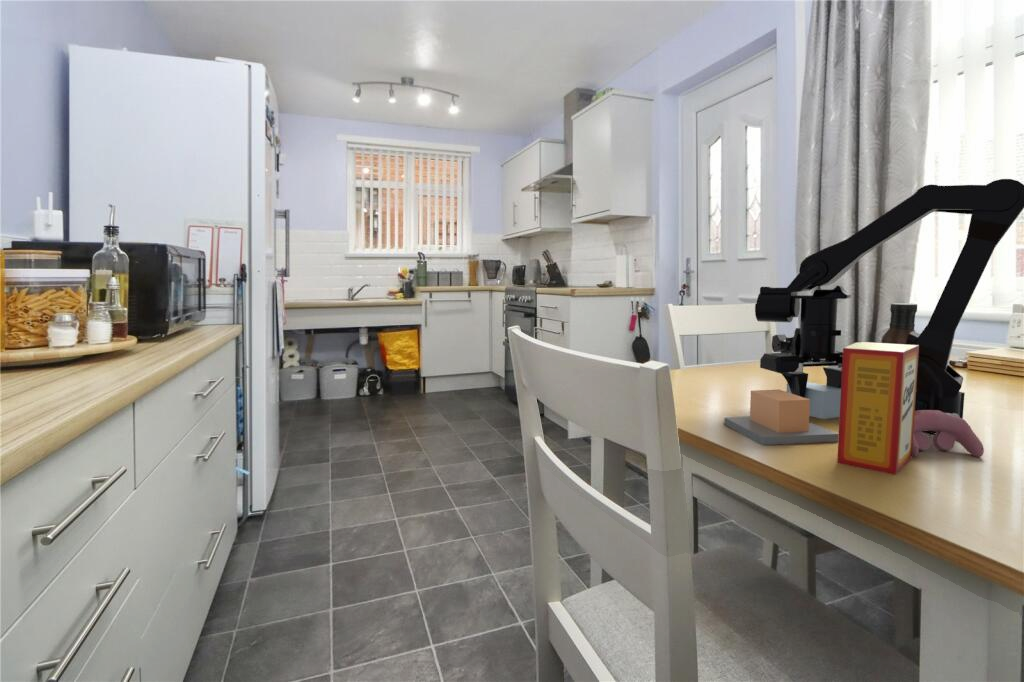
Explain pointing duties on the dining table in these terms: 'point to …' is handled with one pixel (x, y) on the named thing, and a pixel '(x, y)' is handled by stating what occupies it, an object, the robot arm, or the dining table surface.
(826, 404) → the brick top
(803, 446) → the dining table surface
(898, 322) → the sauce bottle
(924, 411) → the video game controller
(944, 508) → the dining table surface
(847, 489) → the dining table surface
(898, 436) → the baking soda box
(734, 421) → the baseplate
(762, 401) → the brick bottom
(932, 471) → the dining table surface
